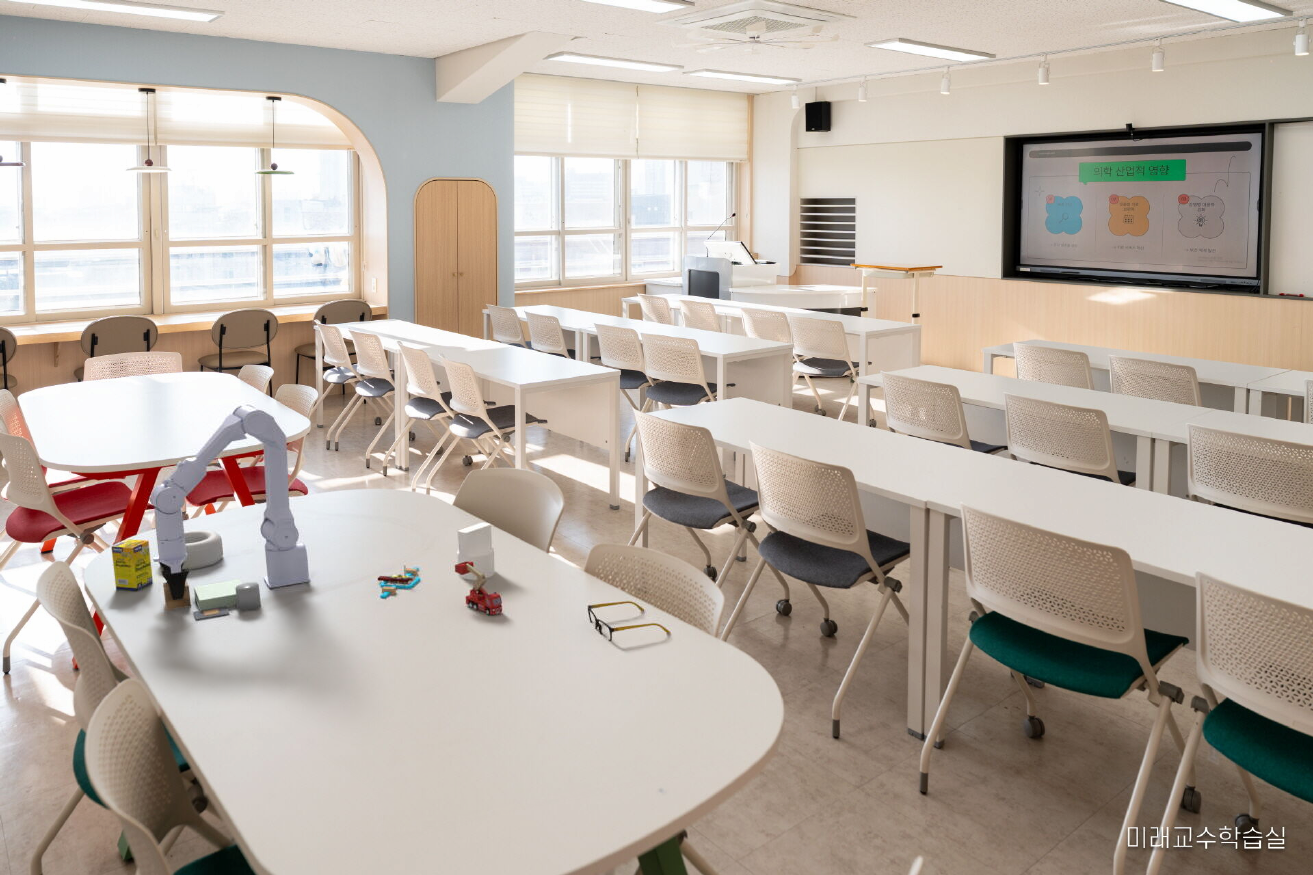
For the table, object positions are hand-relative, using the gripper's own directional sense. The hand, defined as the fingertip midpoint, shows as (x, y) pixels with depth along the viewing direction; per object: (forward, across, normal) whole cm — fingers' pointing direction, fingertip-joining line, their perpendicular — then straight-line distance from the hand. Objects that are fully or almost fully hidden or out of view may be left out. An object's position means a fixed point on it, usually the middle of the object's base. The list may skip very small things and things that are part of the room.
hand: (176, 593), depth 238 cm
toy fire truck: (+3, +36, +60) cm, 70 cm away
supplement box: (+3, -18, -8) cm, 20 cm away
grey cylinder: (+3, +10, +14) cm, 17 cm away
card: (+3, +10, +6) cm, 12 cm away
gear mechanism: (+3, +11, +48) cm, 49 cm away
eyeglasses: (+3, +62, +84) cm, 105 cm away
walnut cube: (+3, 0, 0) cm, 3 cm away
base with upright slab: (+3, +14, +67) cm, 69 cm away
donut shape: (+3, -31, +6) cm, 32 cm away
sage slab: (+3, +2, +9) cm, 10 cm away
